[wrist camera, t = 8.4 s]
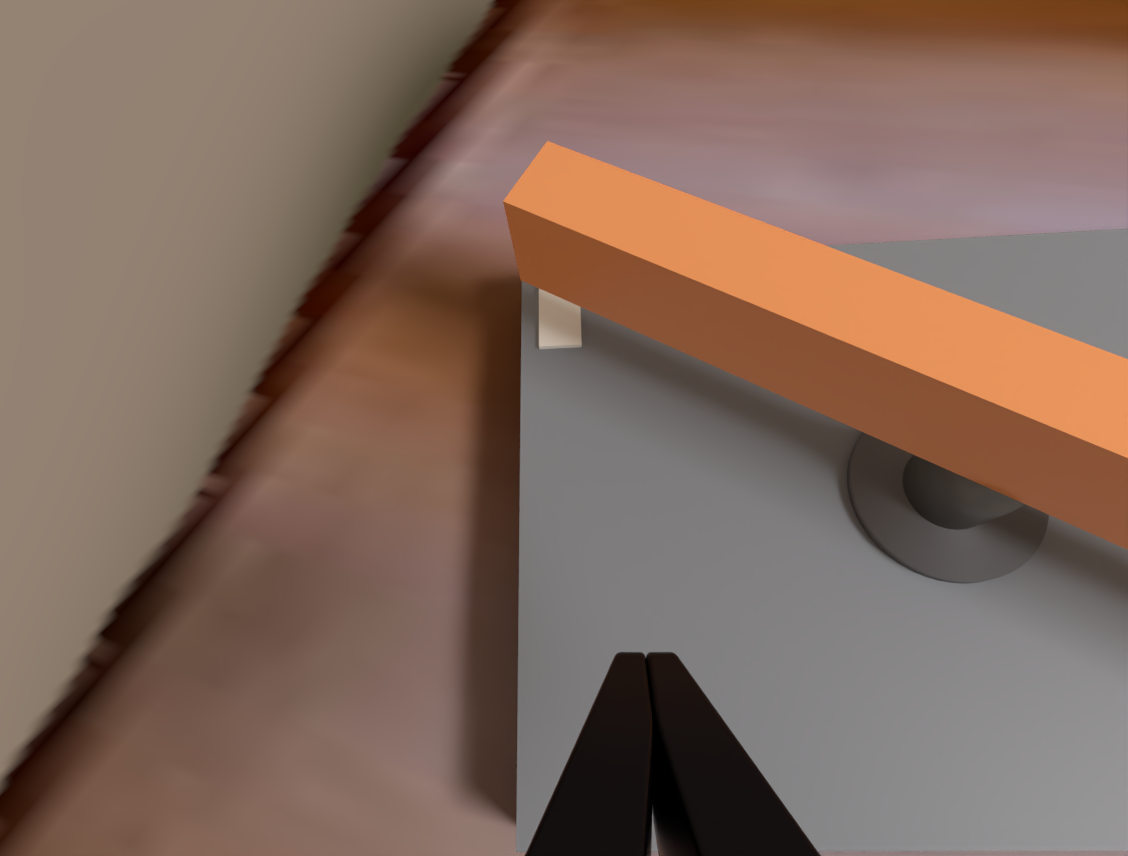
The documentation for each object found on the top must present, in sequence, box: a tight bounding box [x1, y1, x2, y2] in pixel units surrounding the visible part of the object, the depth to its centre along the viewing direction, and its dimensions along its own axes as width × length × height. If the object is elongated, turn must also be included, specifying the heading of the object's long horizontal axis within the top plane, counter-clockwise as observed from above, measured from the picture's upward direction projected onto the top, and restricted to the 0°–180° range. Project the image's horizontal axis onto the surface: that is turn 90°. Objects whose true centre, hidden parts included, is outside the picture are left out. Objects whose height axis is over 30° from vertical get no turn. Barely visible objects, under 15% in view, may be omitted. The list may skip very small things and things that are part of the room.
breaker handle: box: [503, 141, 1128, 550], centre depth 17 cm, size 3×30×7 cm, turn 61°
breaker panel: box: [516, 229, 1128, 852], centre depth 21 cm, size 20×28×3 cm
